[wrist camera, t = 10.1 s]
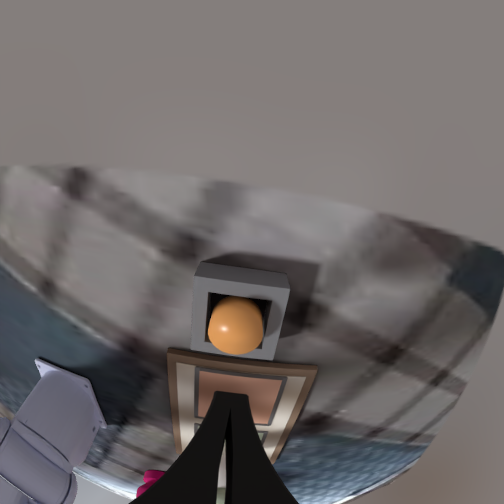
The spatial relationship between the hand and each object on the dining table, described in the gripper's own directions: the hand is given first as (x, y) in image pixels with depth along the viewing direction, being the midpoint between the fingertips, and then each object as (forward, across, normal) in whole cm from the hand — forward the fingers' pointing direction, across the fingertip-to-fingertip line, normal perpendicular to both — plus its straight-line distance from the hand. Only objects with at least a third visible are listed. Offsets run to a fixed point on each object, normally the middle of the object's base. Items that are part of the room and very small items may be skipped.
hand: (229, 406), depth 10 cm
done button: (+7, 0, 0) cm, 7 cm away
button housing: (+9, 0, 0) cm, 9 cm away
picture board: (+9, -1, +14) cm, 17 cm away
